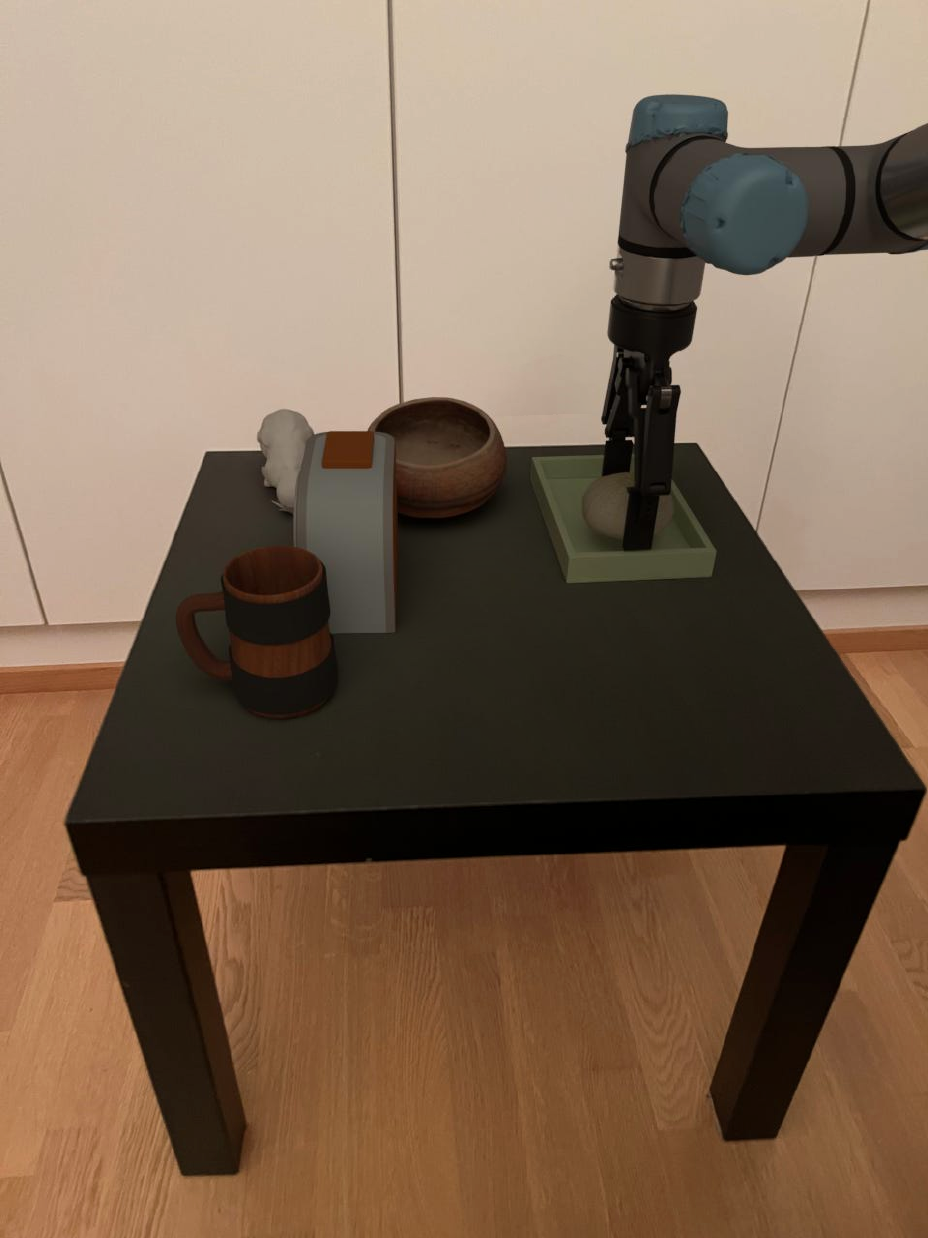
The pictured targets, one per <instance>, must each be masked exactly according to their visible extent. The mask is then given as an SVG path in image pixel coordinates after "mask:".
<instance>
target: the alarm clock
mask: <svg viewBox="0 0 928 1238" xmlns="http://www.w3.org/2000/svg"><path fill="white" fill-rule="evenodd" d="M292 515H293V514H292ZM292 517H293V520H292V521H293V524H292V525H293V527H292V528H293V530H292V531H293V535H292V536H293V547H297V548H301V549H304V550H307V551H309V552H311V553H313V554H314V555H315V556H316V557H317V558H318V559H319V560H320V561H321V562H322V563H323V564H324V566H325V568H326V577H327V587H328V595H329V603H330V611H331V612H330V617H329V620H328V622H329V631H330V633H331V634H394V633H396V632H397V617H398V616H397V615H398V613H397V612H398V585H399V584H398V582H399V527H398V526H399V523H398V512H397V479H396V442H395V439H394V438H393V437H392V436H391V435H389V434H386V433H382V432H372V431H368V430H338V431H337V430H330V431H329V430H328V431H322V432H317V433H314V435H312V436H311V437H309V438H308V440H307V442H306V447H305V451H304V456H303V460H302V465H301V469H300V471H299V472H298V475H297V479H296V485H295V495H294V515H293V516H292Z"/></svg>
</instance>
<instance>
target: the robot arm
mask: <svg viewBox="0 0 928 1238" xmlns="http://www.w3.org/2000/svg"><path fill="white" fill-rule="evenodd" d="M631 115H632V116H631V121H630V127H629V132H628V133H629V134H628V140H627V143H626V144H625V148H624V149H625V150H624V152H625V165H624V175H623V176H624V177H623V183H622V185H623V186H622V196H621V204H620V205H621V207H620V215H619V226H618V236H617V248H616V257H615V258H611V259H610V260H609V264H608V265H609V266H608V268H609V270H611V271H614V273H613V281H612V282H613V284H612V290H613V292H614V293H615V295H614V296H613V297H612V298H611V300H610V305H609V314H608V322H607V332H606V333H607V334H606V335H607V338H608V340H609V342H611V344H613V353H612V362H611V365H610V372H609V377H608V381H607V388H606V391H605V392H606V393H605V397H604V403H603V408H602V412H601V413H602V414H601V418H600V421H601V424H602V425H604V426H605V428H604V435H605V438H606V439H608V440H605V444H604V453H603V455H604V460H603V469H602V476H607V475H611V474H616V473H621V472H622V473H624V472H628V473H630V466H631V459H632V454H634V480H635V484H634V487H627V492H628V494H629V500H628V507H627V514H626V522H625V529H624V536H623V544H622V547H623V550H624V551H627V550H651V548H652V542H653V536H654V529H655V523H656V517H657V510H658V504H659V498H660V496H664V495H670V492H671V481H672V480H673V468H674V467H673V465H674V452H675V440H676V439H675V438H676V427H677V412H678V409H679V403H680V398H681V395H682V389H681V385H680V384H672V383H673V370H672V367H671V366H670V361H671V360H670V359H671V357H672V356H674V355H675V354H676V353H678V352H683V351H685V350H686V349H688V348H689V346H690V345H691V344H692V342H693V338H694V337H693V336H694V331H695V325H696V318H697V313H698V306H697V304H696V303H695V301H697V300H698V299H699V297H700V296H701V292H702V286H703V280H704V274H705V268H706V265H707V264H708V265H712V266H713V267H714V268H716V269H719V270H722V271H726V272H729V273H731V274H734V275H737V276H755V275H759V274H762V273H764V272H766V271H768V270H770V269H773V267H775V266H777V265H779V264H780V263H782V262H783V261H785V260H786V259H787V258H789V259H791V258H808V257H809V258H810V257H823V256H831V255H835V256H837V255H863V254H864V255H865V254H888V255H904V254H912V253H916V252H920V251H921V252H922V251H928V122H926V123H924V124H921V125H919V126H917V127H916V128H914V129H912V130H910V131H907V132H905V133H902V134H900V135H898V136H895V137H894V138H890V139H888V140H885V141H884V142H879V143H875V144H866V145H865V144H863V145H837V146H835V145H827V146H826V145H825V146H778V147H777V146H775V147H772V146H771V147H743V146H739V145H735V144H731V143H728V142H727V140H728V137H729V132H728V124H729V123H728V121H729V111H728V108H727V105H726V103H725V102H724V101H723V100H720V99H718V98H715V97H710V96H703V95H696V94H695V95H694V94H678V93H677V94H675V93H673V94H669V93H668V94H654V95H648V96H645V97H643V98H641V99H640V100H639V101H638V102H637V103H636V104H635V106H634V108H633V110H632V114H631ZM643 406H645V407H643ZM627 438H633V439H627Z"/></svg>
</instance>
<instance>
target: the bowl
mask: <svg viewBox="0 0 928 1238" xmlns="http://www.w3.org/2000/svg"><path fill="white" fill-rule="evenodd" d="M367 431H372V432H382V433H386V434H389V435H391V436H392V437H393V438H394V439H395V442H396V479H397V514H398V513H399V514H402V515H404V516H407V517H412V518H421V519H425V518H426V519H442V518H443V519H445V518H451V517H455V516H460V515H462V514H463V515H464V514H466V513H468V512H471V511H473V510H475V509H478V508H479V507H481V506H482V505H484V503H486V502H487V501H488V500H489V499H491V498H492V497H493V495H494V494H495V493H496V490H497V489H498V488H499V487H500V485H501V483H502V482H503V480H504V478H505V476H506V474H507V468H508V457H507V451H506V446H505V442H504V439H503V437H502V434H501V432H500V430H499V428H498V426H497V425H496V422H495V421H494V419H493V418H491V416H490V415H489V414H488V413H487V412H485V411H484V410H483V409H481V408H479V407H478V406H476V405H475V404H472V403H470V402H467V401H465V400H462V399H457V398H454V397H447V396H446V397H445V396H430V397H422V398H421V397H420V398H414V399H410V400H407V401H404V402H400V403H397V404H395V405H392V406H391V407H388V408H387V409H385V410H384V411H382V412H380V414H379V415H378V416H377V417H376V418H375V419H374V420H373V421H372V422H371V424H370V425H369V427H368V428H367Z"/></svg>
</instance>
